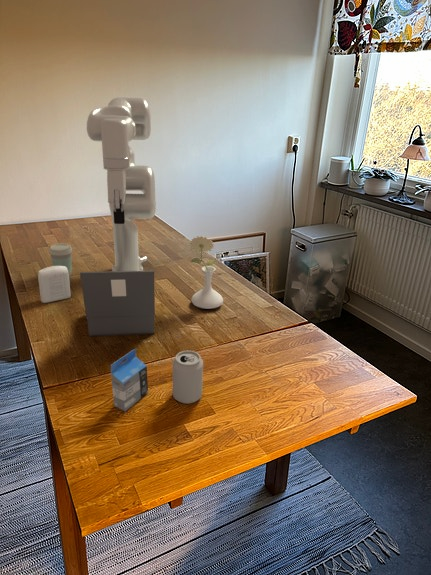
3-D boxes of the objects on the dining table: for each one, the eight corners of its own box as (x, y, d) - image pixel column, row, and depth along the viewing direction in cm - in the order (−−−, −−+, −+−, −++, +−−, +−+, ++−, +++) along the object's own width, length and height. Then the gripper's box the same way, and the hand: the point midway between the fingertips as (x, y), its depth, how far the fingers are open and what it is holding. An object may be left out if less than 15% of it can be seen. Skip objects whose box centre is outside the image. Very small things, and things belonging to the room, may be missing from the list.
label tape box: (125, 412, 109) (122, 370, 104) (112, 405, 111) (109, 364, 106) (148, 393, 116) (147, 352, 111) (136, 387, 118) (134, 347, 113)
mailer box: (94, 311, 153) (92, 293, 150) (153, 309, 156) (153, 291, 153) (88, 336, 139) (87, 316, 136) (154, 333, 142) (154, 314, 139)
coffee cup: (79, 273, 181) (76, 244, 176) (66, 281, 174) (62, 252, 169) (61, 269, 184) (57, 241, 178) (47, 277, 176) (43, 248, 171)
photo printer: (68, 293, 165) (65, 262, 159) (72, 298, 162) (69, 266, 156) (39, 299, 160) (35, 267, 154) (43, 304, 156) (38, 271, 151)
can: (172, 387, 119) (172, 348, 113) (201, 386, 119) (202, 348, 114) (172, 406, 112) (172, 366, 107) (202, 405, 112) (204, 365, 107)
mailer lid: (80, 271, 126) (79, 273, 125) (154, 270, 129) (154, 271, 128) (86, 316, 136) (86, 317, 136) (154, 314, 139) (154, 315, 138)
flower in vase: (228, 301, 164) (231, 235, 153) (214, 314, 155) (217, 245, 144) (196, 293, 169) (197, 229, 158) (181, 306, 159) (181, 238, 149)
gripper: (105, 158, 140) (108, 216, 148) (101, 168, 126) (105, 230, 134) (129, 158, 141) (132, 216, 149) (128, 168, 127) (131, 230, 135)
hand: (119, 222), depth 141 cm, fingers closed
